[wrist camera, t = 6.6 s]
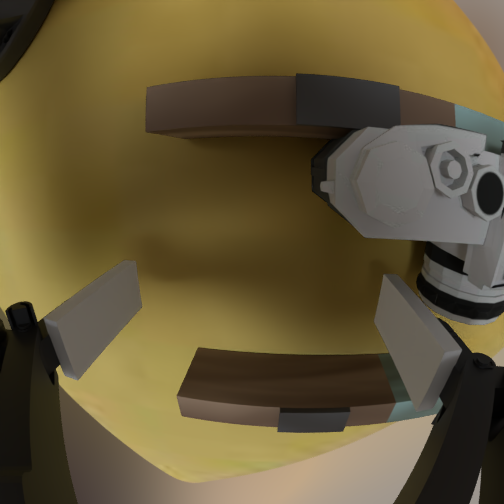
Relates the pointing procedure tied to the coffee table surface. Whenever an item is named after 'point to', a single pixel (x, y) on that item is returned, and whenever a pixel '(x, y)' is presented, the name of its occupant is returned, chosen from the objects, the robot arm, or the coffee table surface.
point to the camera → (426, 207)
